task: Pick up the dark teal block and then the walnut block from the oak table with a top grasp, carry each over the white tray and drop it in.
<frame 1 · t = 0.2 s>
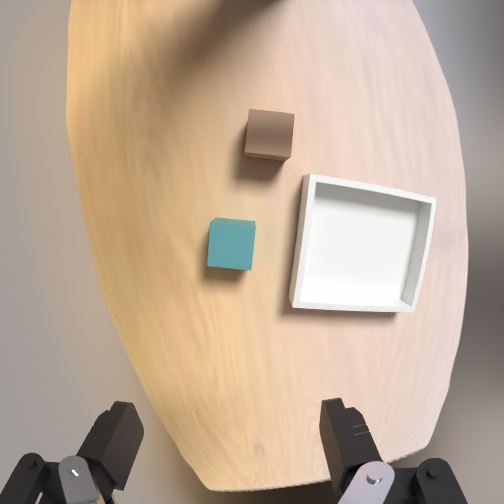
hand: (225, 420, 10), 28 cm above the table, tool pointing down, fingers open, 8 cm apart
walnut block: (267, 139, 34), on the table
teal block: (233, 238, 37), on the table
white tray: (360, 244, 37), on the table
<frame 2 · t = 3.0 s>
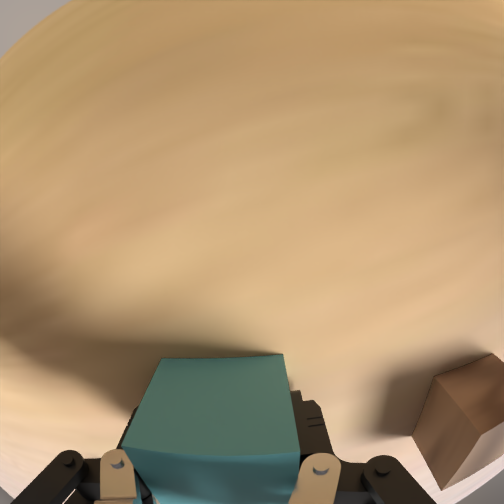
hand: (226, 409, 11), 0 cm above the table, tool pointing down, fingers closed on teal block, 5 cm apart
walnut block: (453, 396, 12), on the table
teal block: (227, 402, 11), on the table, touching gripper
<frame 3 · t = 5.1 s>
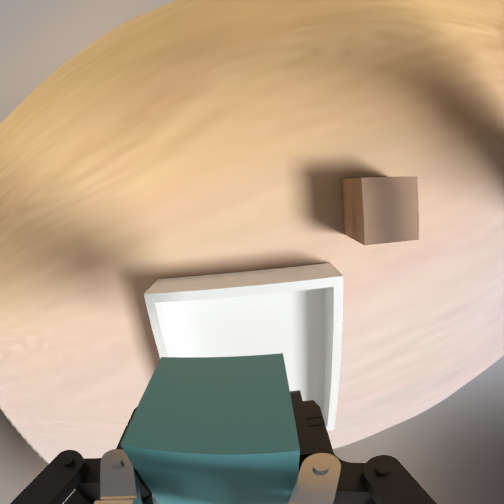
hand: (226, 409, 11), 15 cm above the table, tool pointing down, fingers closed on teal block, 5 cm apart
walnut block: (367, 205, 24), on the table
teal block: (227, 401, 11), point 15 cm above the table, touching gripper
white tray: (252, 355, 28), on the table
when the fingers open (3 cm above the table, at t = 7.7 s): teal block drops 2 cm, resting on white tray.
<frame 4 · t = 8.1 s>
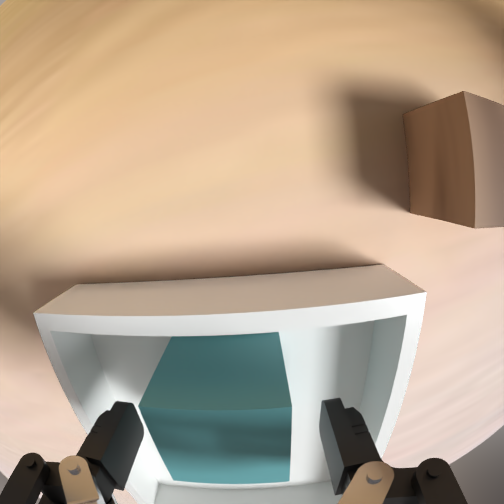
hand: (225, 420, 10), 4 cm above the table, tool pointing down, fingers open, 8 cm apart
walnut block: (443, 165, 12), on the table
teal block: (229, 377, 13), point 1 cm above the table, touching white tray
white tray: (238, 416, 15), on the table
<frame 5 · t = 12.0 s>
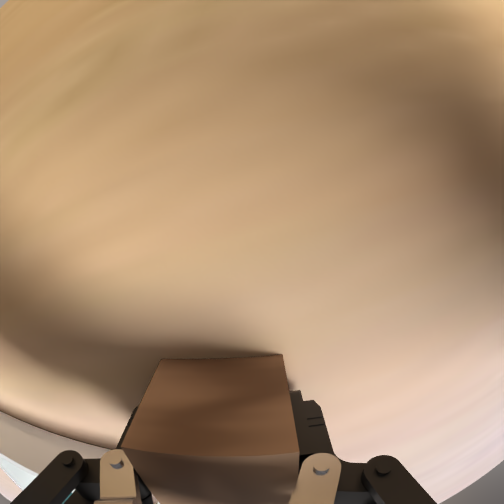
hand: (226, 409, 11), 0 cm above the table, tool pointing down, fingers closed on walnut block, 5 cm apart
walnut block: (227, 402, 11), on the table, touching gripper
white tray: (111, 498, 15), on the table
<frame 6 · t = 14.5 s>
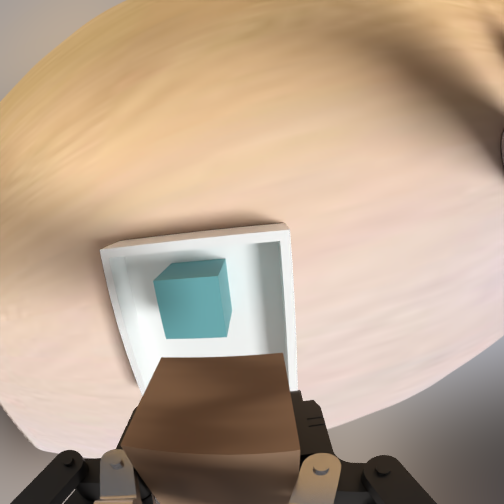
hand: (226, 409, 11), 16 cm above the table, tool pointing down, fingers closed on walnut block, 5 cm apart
walnut block: (227, 401, 11), point 16 cm above the table, touching gripper
teal block: (201, 287, 26), point 1 cm above the table, touching white tray
white tray: (210, 321, 28), on the table
when the fingers open (3 cm above the table, at t = 17.4 s): walnut block drops 2 cm, resting on white tray.
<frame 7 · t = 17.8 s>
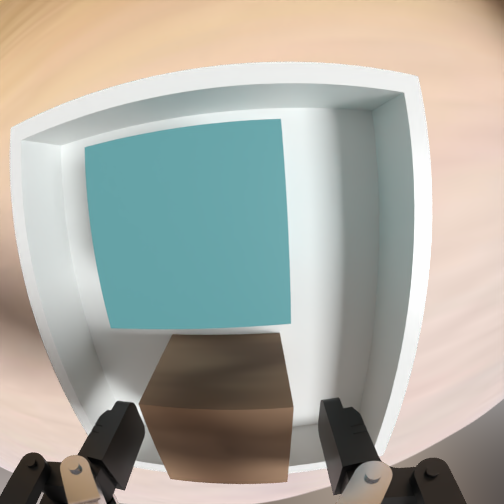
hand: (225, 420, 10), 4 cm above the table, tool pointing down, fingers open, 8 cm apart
walnut block: (229, 376, 13), point 1 cm above the table, touching white tray
teal block: (210, 213, 11), point 1 cm above the table, touching white tray
white tray: (221, 297, 13), on the table
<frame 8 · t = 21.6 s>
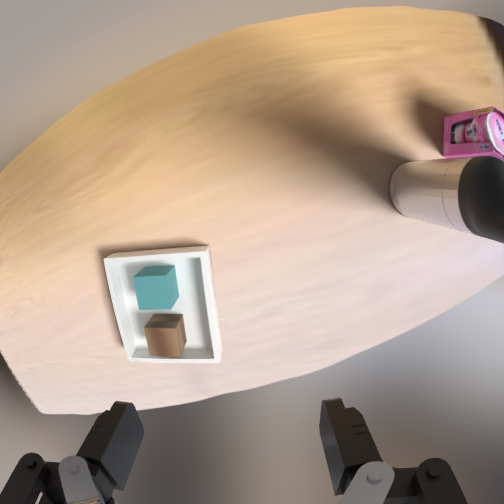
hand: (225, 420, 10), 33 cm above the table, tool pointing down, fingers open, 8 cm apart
walnut block: (170, 327, 44), point 1 cm above the table, touching white tray
teal block: (161, 281, 43), point 1 cm above the table, touching white tray
gum box: (481, 154, 39), on the table
white tray: (167, 303, 44), on the table
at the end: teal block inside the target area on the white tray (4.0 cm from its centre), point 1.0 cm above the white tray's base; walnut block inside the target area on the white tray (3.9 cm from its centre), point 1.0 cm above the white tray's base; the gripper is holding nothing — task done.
